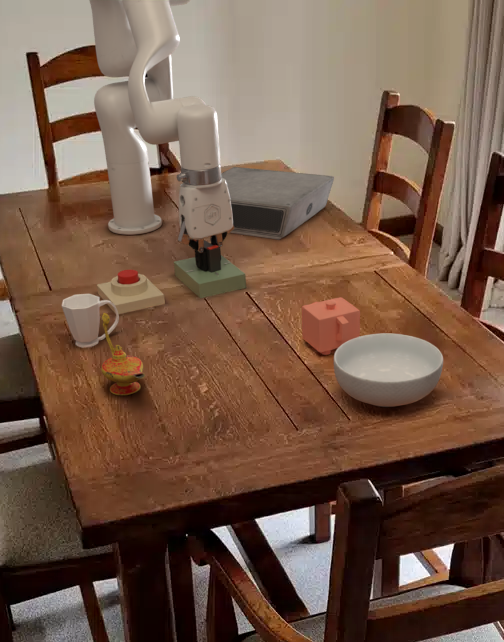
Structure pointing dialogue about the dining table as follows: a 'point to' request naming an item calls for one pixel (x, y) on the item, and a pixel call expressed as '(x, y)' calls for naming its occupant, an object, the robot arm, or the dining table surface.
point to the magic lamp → (121, 367)
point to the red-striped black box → (212, 256)
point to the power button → (128, 277)
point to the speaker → (274, 200)
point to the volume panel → (210, 277)
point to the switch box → (131, 294)
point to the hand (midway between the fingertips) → (209, 266)
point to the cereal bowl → (387, 368)
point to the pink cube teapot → (330, 324)
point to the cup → (85, 318)
